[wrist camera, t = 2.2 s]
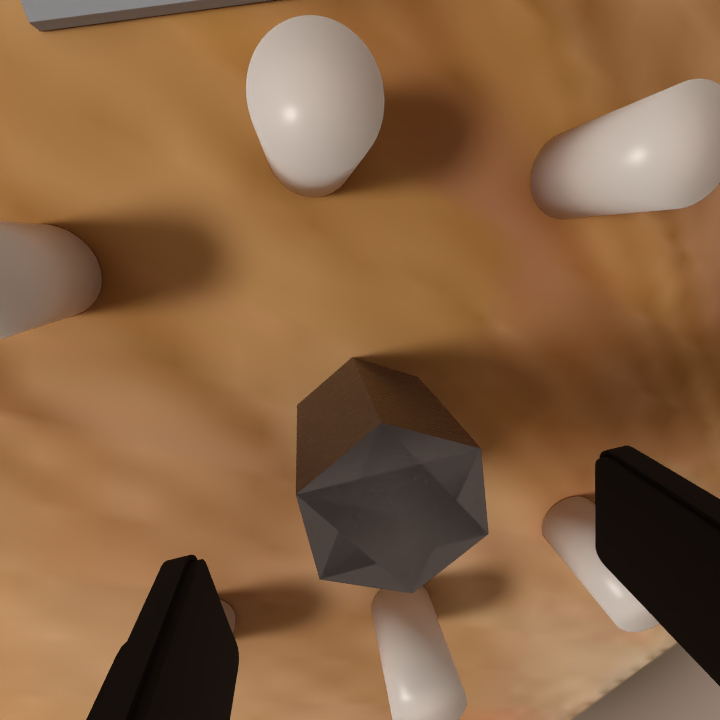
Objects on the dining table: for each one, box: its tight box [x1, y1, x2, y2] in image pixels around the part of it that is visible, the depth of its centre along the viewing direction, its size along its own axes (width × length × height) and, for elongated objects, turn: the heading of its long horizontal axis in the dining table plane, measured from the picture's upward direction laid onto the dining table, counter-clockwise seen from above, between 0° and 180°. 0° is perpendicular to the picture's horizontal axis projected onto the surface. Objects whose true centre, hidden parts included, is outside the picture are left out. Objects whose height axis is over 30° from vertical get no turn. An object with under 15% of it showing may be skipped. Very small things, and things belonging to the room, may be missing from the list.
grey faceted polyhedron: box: [296, 358, 488, 594], centre depth 12 cm, size 5×4×5 cm
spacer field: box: [0, 15, 720, 720], centre depth 12 cm, size 21×19×4 cm
